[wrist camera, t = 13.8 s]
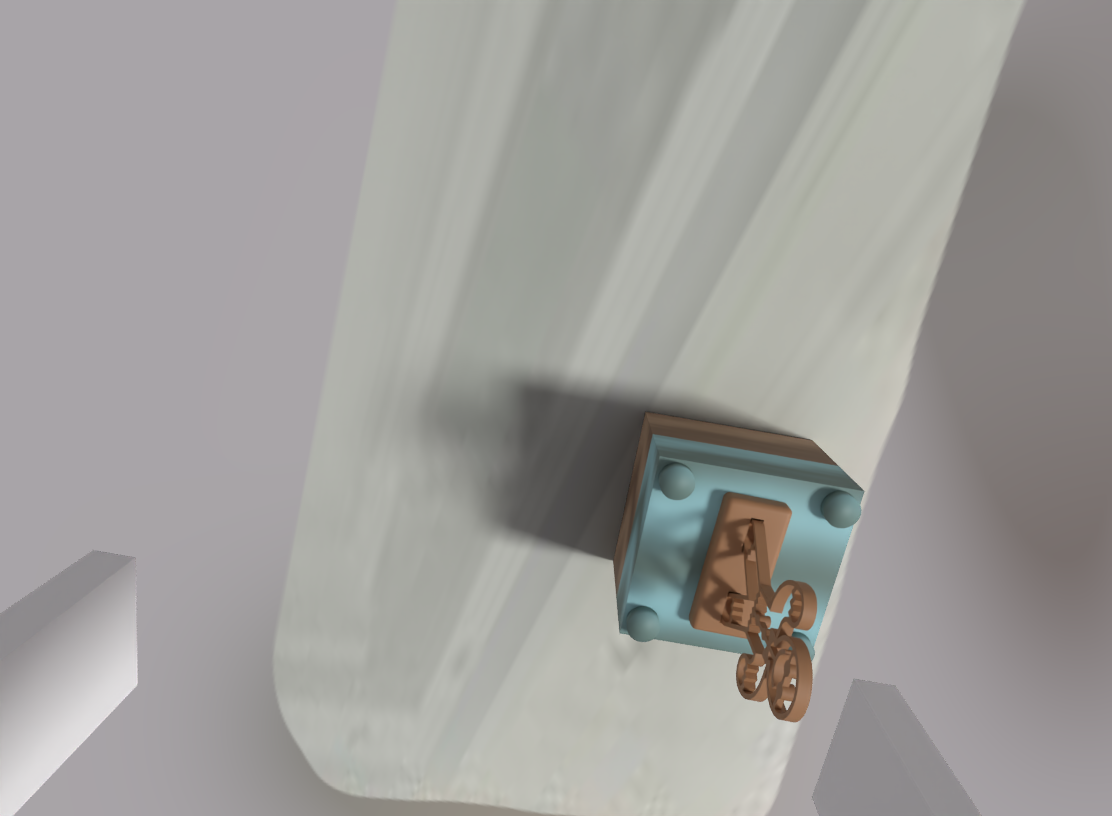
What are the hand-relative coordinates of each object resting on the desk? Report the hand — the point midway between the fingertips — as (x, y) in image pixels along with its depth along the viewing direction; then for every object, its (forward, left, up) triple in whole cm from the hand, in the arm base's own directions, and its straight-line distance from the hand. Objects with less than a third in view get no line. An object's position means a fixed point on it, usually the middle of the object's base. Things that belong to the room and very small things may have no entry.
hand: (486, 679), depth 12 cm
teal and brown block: (+10, +13, -35) cm, 38 cm away
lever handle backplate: (+10, +13, -26) cm, 31 cm away
